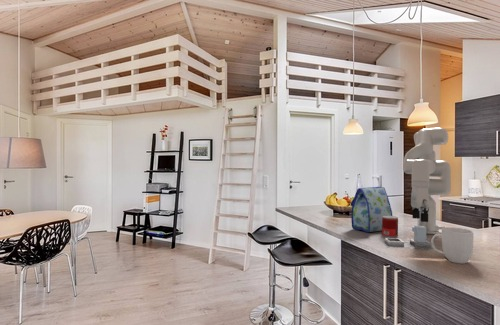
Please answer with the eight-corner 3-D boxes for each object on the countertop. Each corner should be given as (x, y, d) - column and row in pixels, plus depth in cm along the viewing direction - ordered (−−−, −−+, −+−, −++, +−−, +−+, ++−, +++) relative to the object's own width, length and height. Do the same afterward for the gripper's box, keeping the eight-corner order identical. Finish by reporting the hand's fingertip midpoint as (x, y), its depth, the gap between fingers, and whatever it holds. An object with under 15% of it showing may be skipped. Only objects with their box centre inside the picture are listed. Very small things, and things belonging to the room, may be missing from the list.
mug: (428, 259, 127) (429, 228, 127) (433, 253, 136) (433, 224, 136) (472, 267, 118) (472, 234, 118) (474, 260, 126) (474, 229, 126)
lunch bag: (371, 224, 197) (371, 185, 197) (394, 229, 183) (394, 187, 183) (347, 228, 186) (348, 186, 186) (370, 234, 172) (370, 189, 172)
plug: (422, 244, 147) (422, 225, 147) (426, 246, 144) (426, 227, 143) (411, 243, 148) (411, 225, 148) (414, 245, 144) (414, 227, 144)
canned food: (399, 238, 162) (399, 218, 162) (383, 237, 164) (384, 217, 164) (395, 235, 170) (395, 215, 170) (380, 234, 171) (380, 215, 171)
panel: (424, 243, 152) (425, 237, 152) (437, 251, 138) (437, 245, 138) (379, 241, 155) (379, 236, 155) (387, 249, 141) (387, 243, 141)
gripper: (405, 183, 155) (405, 216, 154) (419, 185, 138) (419, 222, 137) (421, 184, 154) (421, 217, 153) (436, 186, 136) (436, 223, 136)
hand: (420, 219), depth 145 cm, fingers open, 9 cm apart
